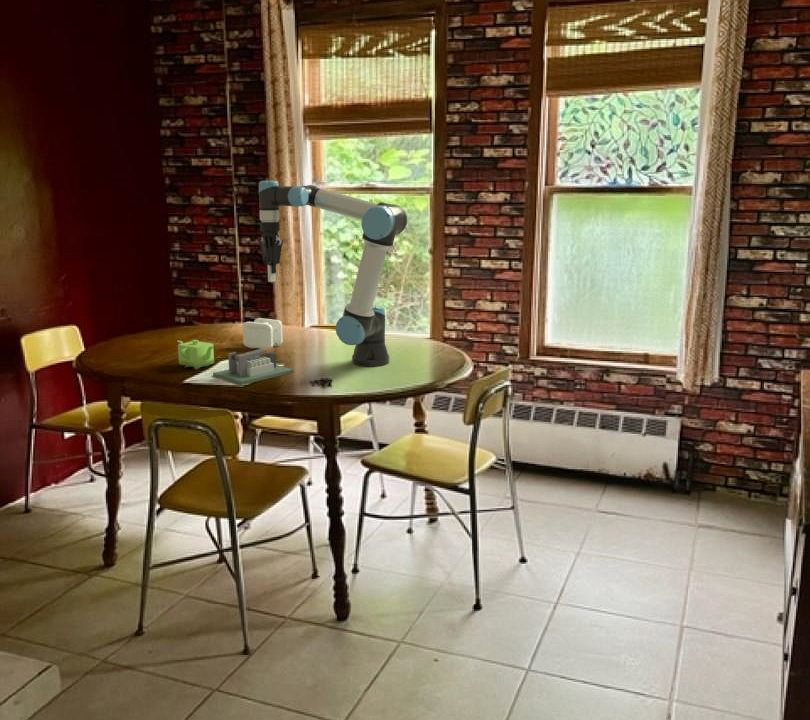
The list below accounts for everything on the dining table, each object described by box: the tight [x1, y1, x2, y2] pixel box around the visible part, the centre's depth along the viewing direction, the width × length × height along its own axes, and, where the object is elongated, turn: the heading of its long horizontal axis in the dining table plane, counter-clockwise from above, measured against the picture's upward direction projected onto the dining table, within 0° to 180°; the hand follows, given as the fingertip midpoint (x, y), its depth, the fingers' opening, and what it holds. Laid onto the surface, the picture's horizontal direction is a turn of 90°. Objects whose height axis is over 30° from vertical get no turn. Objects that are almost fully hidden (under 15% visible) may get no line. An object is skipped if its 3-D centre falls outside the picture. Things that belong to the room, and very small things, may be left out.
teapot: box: [177, 339, 215, 370], centre depth 309 cm, size 15×13×11 cm
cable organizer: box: [242, 317, 284, 349], centre depth 342 cm, size 15×11×12 cm
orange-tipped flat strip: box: [232, 347, 276, 361], centre depth 297 cm, size 5×17×2 cm, turn 138°
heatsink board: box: [212, 351, 294, 386], centre depth 298 cm, size 18×24×9 cm
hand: (272, 281), depth 312 cm, fingers closed
